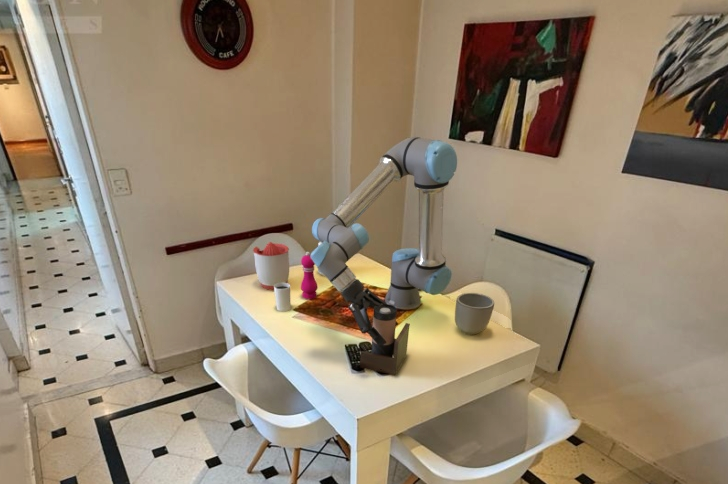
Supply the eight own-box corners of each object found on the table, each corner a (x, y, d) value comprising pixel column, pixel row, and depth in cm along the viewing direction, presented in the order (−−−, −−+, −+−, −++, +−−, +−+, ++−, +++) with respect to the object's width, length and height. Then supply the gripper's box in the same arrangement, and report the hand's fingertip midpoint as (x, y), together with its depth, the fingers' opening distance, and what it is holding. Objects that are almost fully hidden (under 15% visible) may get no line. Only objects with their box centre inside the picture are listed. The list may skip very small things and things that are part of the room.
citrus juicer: (275, 275, 222) (272, 233, 211) (297, 285, 212) (295, 242, 200) (248, 283, 214) (243, 240, 202) (269, 295, 204) (265, 250, 192)
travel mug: (391, 368, 157) (395, 315, 145) (369, 365, 158) (371, 312, 146) (393, 356, 163) (398, 304, 151) (372, 354, 164) (375, 302, 152)
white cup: (287, 312, 190) (286, 290, 184) (273, 310, 192) (271, 287, 186) (294, 306, 195) (292, 283, 189) (279, 303, 197) (278, 281, 191)
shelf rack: (372, 348, 167) (374, 317, 160) (406, 355, 164) (409, 323, 156) (360, 367, 157) (361, 334, 149) (395, 375, 153) (398, 342, 146)
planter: (464, 319, 187) (469, 289, 179) (494, 331, 179) (501, 300, 171) (444, 330, 179) (449, 299, 171) (475, 343, 171) (481, 312, 163)
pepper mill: (320, 295, 204) (320, 250, 192) (311, 301, 199) (309, 255, 187) (307, 291, 207) (306, 247, 195) (298, 297, 202) (295, 252, 190)
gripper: (354, 278, 161) (392, 324, 165) (325, 307, 142) (369, 358, 146) (369, 265, 156) (407, 313, 161) (341, 294, 137) (386, 347, 142)
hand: (389, 335), depth 153 cm, fingers open, 13 cm apart
